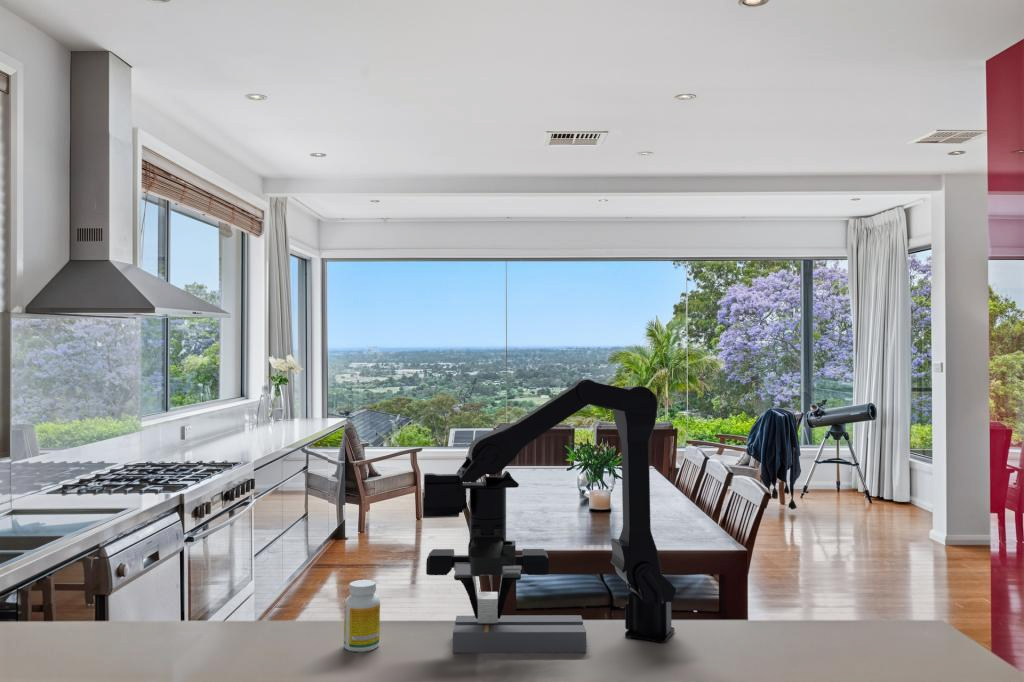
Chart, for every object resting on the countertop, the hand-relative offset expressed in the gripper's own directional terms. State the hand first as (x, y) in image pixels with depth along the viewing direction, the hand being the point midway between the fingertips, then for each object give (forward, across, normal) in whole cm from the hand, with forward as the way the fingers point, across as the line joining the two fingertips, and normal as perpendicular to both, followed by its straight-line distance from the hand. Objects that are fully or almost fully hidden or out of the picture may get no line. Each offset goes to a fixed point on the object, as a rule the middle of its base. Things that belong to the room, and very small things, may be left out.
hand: (487, 617), depth 116 cm
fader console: (+4, +5, 0) cm, 6 cm away
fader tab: (+2, 0, 0) cm, 2 cm away
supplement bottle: (+4, -19, -1) cm, 20 cm away
